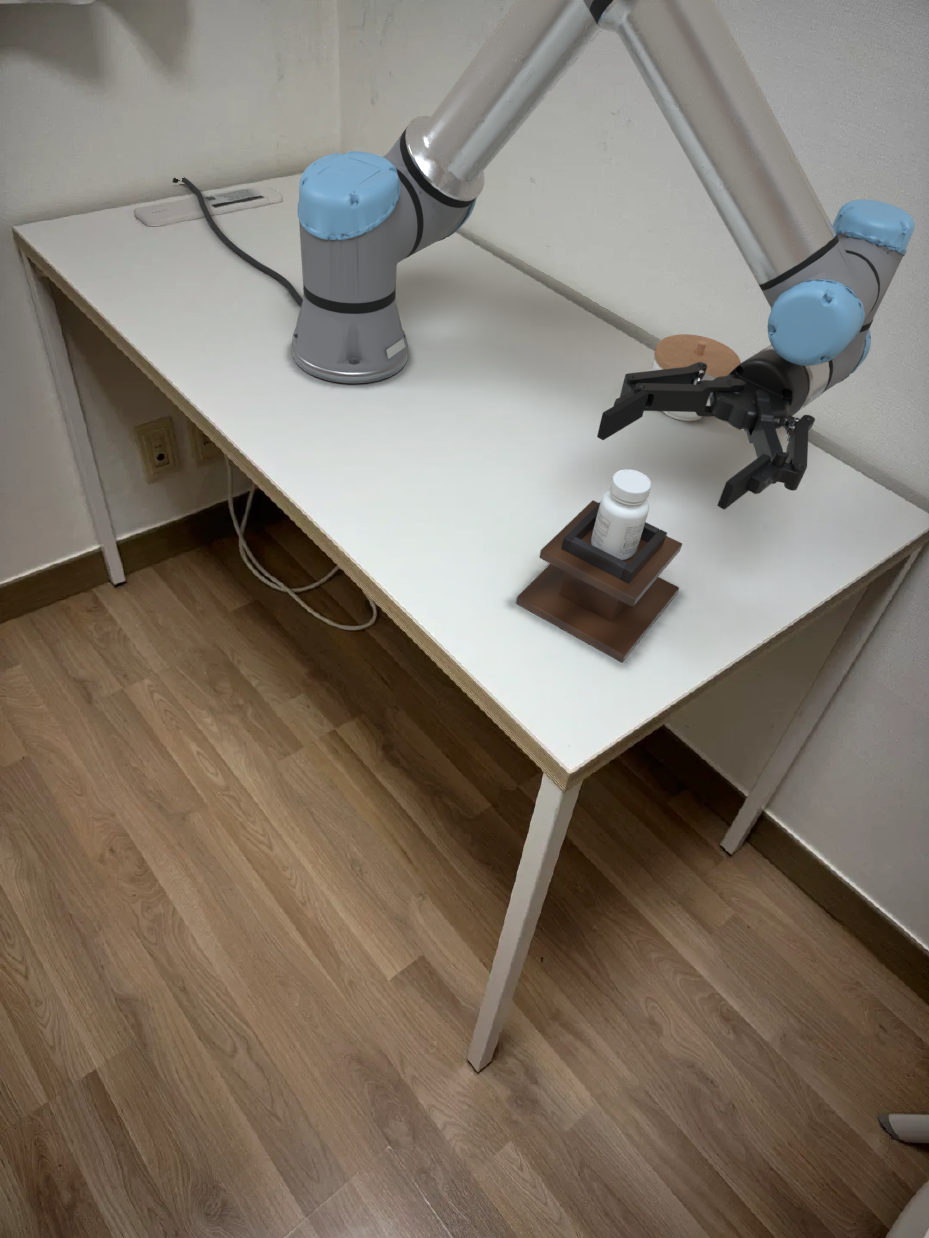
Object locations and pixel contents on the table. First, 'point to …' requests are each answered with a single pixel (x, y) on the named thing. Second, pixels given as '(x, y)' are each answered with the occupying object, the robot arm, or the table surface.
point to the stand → (602, 586)
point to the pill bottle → (622, 514)
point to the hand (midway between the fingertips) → (661, 460)
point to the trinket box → (694, 360)
